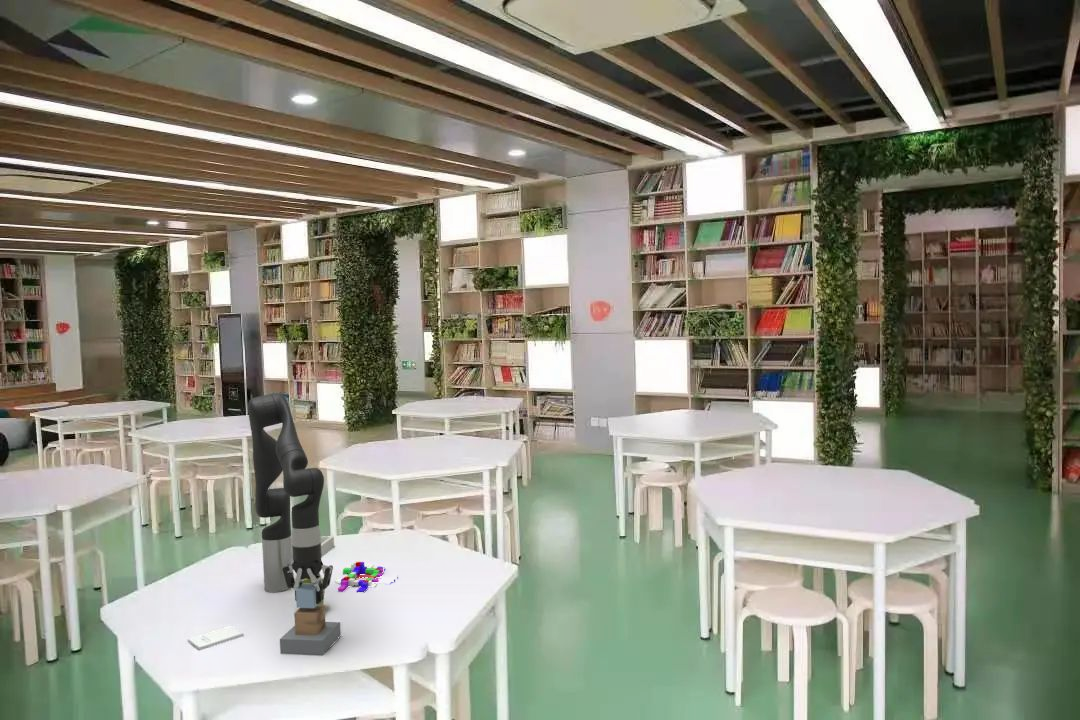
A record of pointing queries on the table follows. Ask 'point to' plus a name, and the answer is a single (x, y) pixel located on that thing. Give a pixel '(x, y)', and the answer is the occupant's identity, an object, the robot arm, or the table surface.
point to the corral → (325, 544)
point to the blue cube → (306, 596)
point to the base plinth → (310, 640)
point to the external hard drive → (215, 637)
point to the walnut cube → (309, 620)
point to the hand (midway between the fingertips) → (309, 602)
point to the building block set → (355, 573)
